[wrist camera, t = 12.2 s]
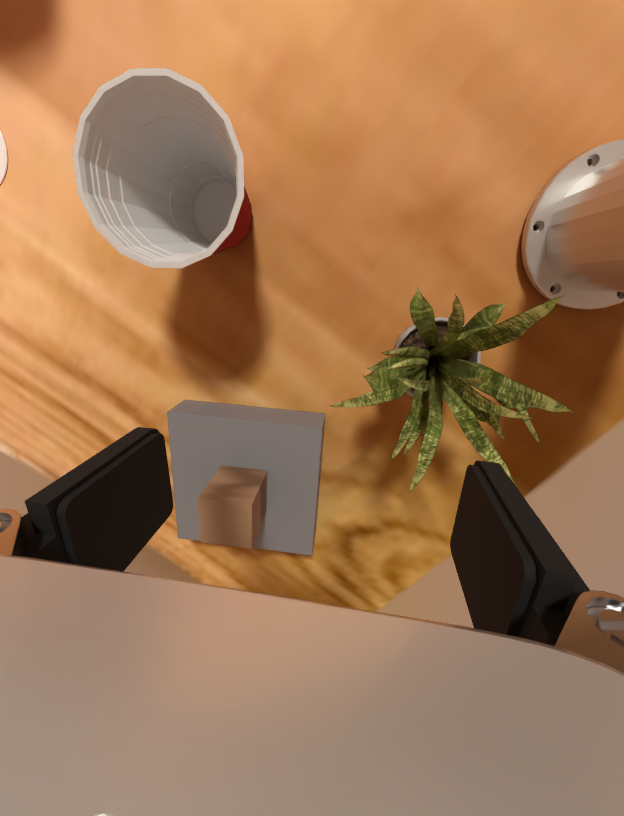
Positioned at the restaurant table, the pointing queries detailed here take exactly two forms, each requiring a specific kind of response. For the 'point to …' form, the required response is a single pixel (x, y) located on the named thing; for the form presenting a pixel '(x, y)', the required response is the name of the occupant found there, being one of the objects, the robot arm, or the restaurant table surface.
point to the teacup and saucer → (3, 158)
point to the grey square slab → (250, 465)
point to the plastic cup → (161, 169)
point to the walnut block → (233, 506)
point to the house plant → (454, 378)
